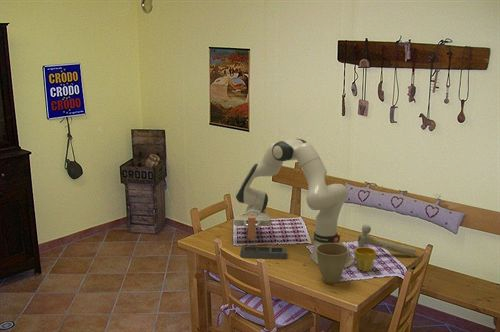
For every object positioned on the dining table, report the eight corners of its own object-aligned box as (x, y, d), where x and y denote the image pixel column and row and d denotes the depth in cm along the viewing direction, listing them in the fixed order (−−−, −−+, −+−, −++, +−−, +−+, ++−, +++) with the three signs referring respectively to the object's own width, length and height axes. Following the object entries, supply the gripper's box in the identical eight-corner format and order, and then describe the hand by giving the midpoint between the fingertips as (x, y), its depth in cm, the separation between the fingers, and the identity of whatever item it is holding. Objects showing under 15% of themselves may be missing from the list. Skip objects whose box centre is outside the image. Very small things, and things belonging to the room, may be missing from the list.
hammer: (417, 237, 287) (362, 223, 288) (419, 241, 283) (363, 226, 283) (408, 264, 291) (354, 250, 292) (410, 268, 287) (355, 253, 287)
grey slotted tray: (286, 252, 290) (286, 247, 289) (286, 258, 282) (286, 253, 282) (241, 251, 291) (241, 246, 290) (240, 257, 283) (240, 252, 282)
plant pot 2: (361, 262, 279) (362, 244, 276) (378, 269, 272) (380, 251, 269) (349, 268, 272) (350, 250, 269) (366, 275, 265) (368, 256, 262)
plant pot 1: (329, 270, 270) (331, 240, 266) (353, 281, 259) (355, 249, 255) (308, 278, 261) (309, 247, 257) (331, 290, 249) (333, 258, 245)
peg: (255, 236, 297) (255, 215, 294) (255, 239, 293) (255, 218, 290) (248, 236, 297) (248, 215, 294) (247, 239, 293) (247, 217, 290)
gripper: (234, 211, 305) (232, 220, 292) (270, 212, 305) (270, 220, 291) (234, 222, 307) (232, 231, 293) (270, 222, 306) (270, 231, 293)
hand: (251, 226), depth 292 cm, fingers closed on peg, 4 cm apart
